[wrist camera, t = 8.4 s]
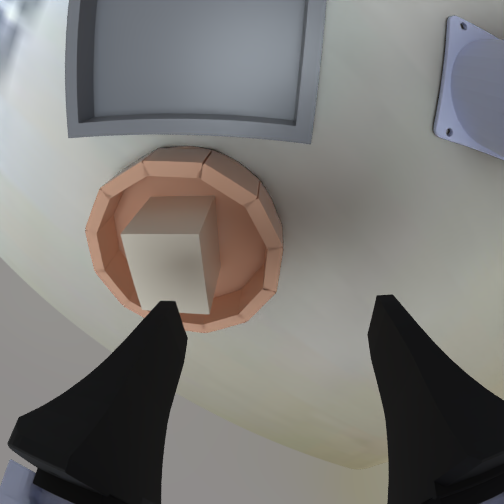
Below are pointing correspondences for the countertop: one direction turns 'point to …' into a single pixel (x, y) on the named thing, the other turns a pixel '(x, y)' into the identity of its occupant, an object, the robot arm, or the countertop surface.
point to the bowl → (228, 223)
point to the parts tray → (193, 67)
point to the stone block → (174, 252)
